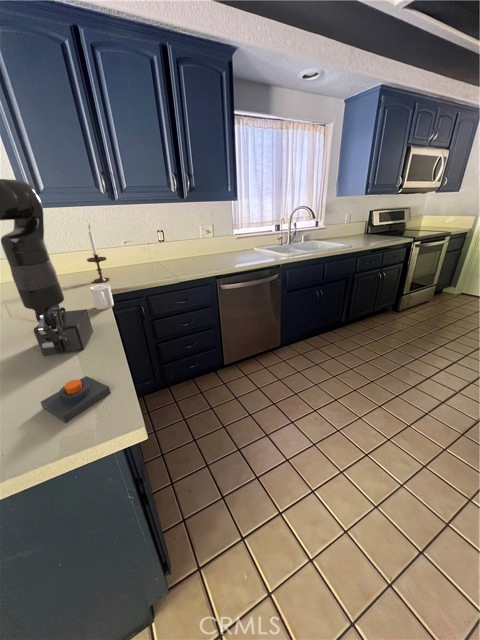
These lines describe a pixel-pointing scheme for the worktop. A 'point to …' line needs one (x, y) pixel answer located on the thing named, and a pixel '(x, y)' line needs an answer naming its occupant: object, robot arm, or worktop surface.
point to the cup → (102, 296)
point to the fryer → (79, 326)
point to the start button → (73, 386)
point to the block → (75, 399)
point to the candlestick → (96, 260)
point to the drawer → (69, 336)
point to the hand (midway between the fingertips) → (62, 351)
